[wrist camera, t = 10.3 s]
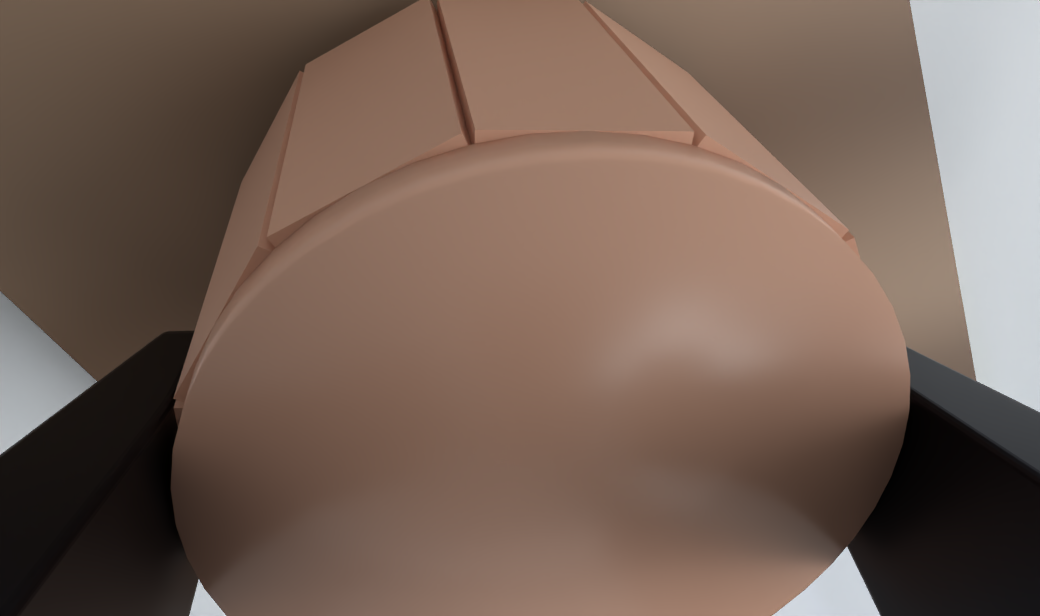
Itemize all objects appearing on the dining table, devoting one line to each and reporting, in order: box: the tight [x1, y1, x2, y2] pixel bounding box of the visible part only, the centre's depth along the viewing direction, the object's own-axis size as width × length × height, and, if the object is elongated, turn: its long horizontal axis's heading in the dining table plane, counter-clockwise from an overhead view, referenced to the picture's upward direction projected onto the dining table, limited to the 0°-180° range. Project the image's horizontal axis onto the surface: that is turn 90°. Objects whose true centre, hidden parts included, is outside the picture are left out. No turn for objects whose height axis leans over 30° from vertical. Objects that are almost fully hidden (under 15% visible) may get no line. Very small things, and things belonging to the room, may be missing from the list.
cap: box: [171, 0, 910, 616], centre depth 9 cm, size 6×6×4 cm
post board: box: [0, 0, 976, 382], centre depth 10 cm, size 18×12×6 cm, turn 26°
